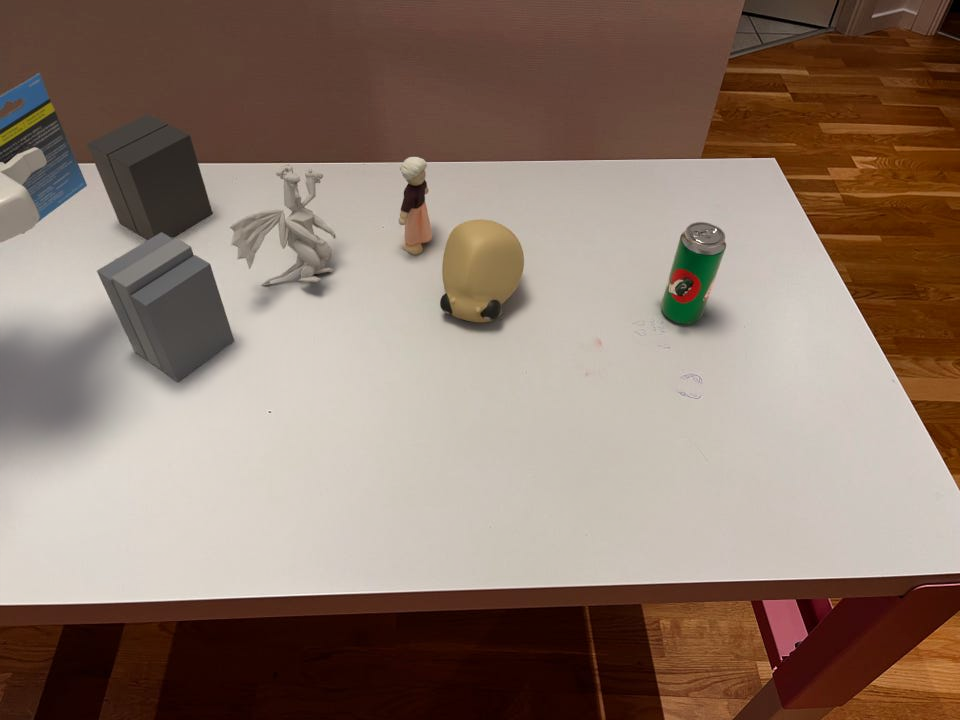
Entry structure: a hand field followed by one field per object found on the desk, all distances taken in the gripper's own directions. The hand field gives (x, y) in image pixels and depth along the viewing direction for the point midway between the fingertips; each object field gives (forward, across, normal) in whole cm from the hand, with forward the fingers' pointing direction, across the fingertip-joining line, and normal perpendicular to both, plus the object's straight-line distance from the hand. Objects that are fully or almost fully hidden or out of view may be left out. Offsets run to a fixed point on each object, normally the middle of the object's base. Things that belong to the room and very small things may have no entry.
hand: (22, 142), depth 69 cm
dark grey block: (+17, +11, +24) cm, 31 cm away
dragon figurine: (+21, -11, +24) cm, 33 cm away
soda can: (+43, -53, +23) cm, 72 cm away
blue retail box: (-1, 0, +7) cm, 7 cm away
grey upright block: (+3, -10, +24) cm, 26 cm away
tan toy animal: (+30, -32, +23) cm, 50 cm away
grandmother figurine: (+34, -19, +24) cm, 46 cm away
